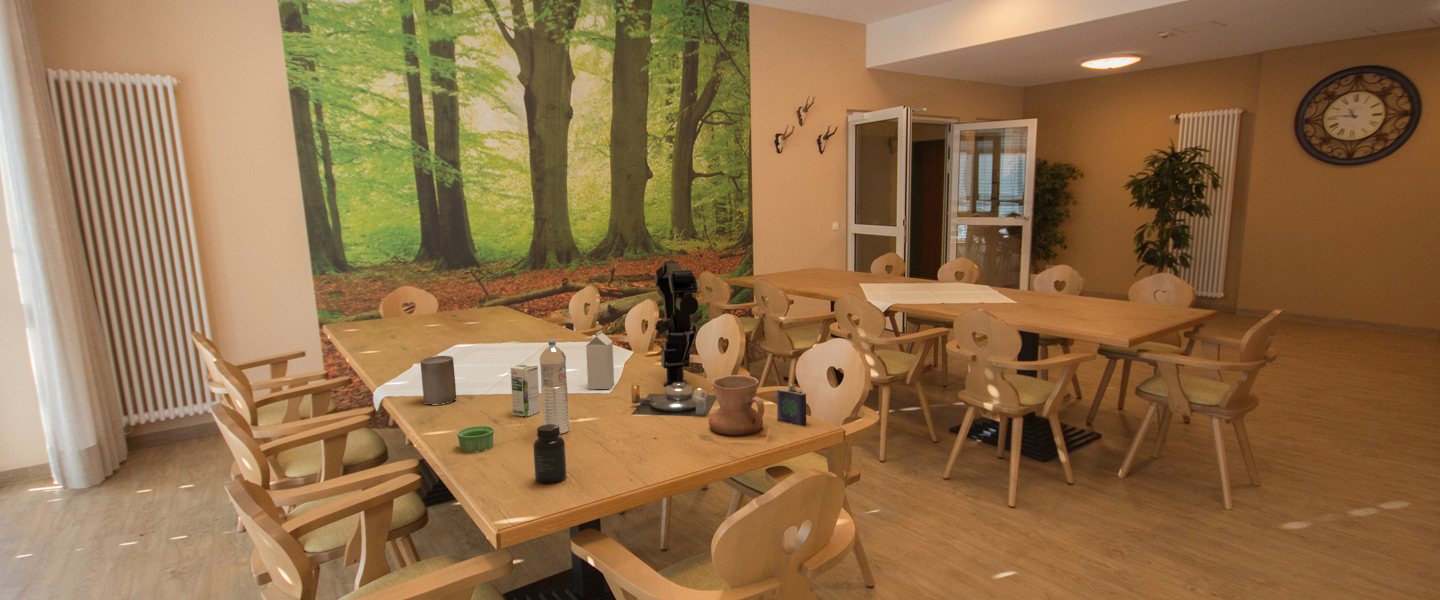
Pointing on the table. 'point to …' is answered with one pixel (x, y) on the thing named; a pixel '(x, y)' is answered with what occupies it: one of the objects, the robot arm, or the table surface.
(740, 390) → the ceramic jug
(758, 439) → the table surface
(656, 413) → the base plate
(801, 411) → the flask
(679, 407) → the turntable
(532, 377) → the syrup box
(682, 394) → the cover
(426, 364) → the pillar candle
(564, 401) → the water bottle
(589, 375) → the milk carton
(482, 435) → the ramekin
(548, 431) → the supplement bottle
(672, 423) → the table surface
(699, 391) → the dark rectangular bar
